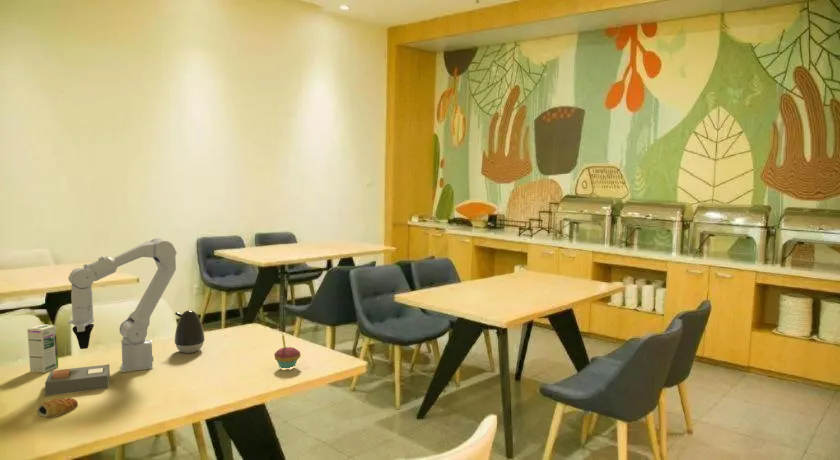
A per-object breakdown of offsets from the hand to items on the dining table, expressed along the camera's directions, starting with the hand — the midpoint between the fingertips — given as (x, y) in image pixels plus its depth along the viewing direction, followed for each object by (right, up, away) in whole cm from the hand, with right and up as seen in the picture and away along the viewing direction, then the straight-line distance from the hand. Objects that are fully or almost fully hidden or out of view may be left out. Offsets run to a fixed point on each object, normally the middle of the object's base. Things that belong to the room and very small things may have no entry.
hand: (84, 348), depth 186 cm
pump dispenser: (+22, -7, +29) cm, 37 cm away
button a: (+6, -9, -5) cm, 12 cm away
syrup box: (-17, -9, +7) cm, 21 cm away
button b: (-2, -9, -9) cm, 12 cm away
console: (+2, -10, -7) cm, 12 cm away
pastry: (+7, -13, -26) cm, 30 cm away
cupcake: (+62, -9, +12) cm, 64 cm away
